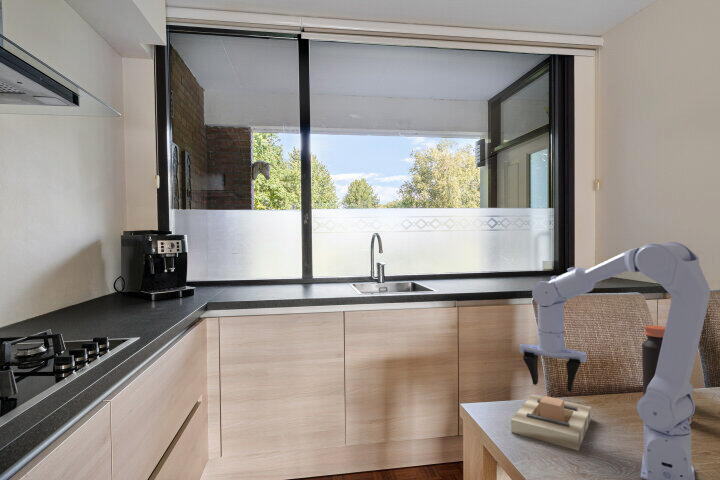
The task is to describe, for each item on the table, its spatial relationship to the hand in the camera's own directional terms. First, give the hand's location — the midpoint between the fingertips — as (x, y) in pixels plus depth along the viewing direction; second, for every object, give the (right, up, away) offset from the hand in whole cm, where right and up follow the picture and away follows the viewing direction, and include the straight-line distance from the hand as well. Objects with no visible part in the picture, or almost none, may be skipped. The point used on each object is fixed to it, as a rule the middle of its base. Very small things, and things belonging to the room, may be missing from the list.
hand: (552, 386), depth 96 cm
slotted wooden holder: (0, -9, 0) cm, 9 cm away
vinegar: (+35, -9, +13) cm, 39 cm away
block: (0, -10, 0) cm, 10 cm away
